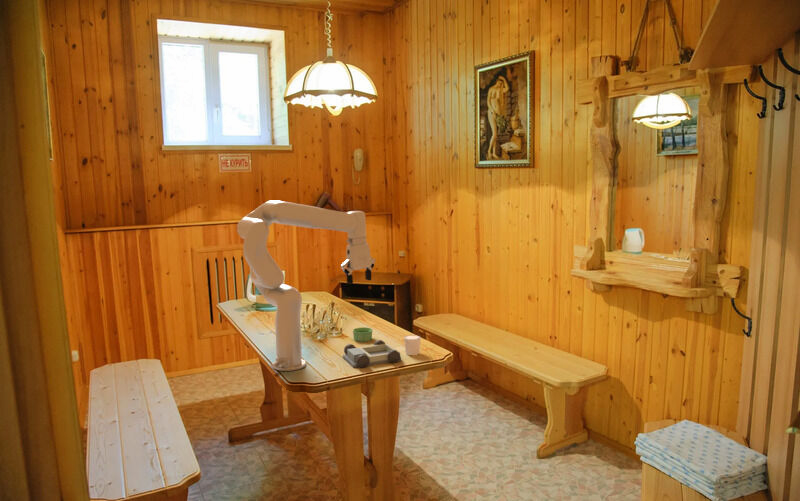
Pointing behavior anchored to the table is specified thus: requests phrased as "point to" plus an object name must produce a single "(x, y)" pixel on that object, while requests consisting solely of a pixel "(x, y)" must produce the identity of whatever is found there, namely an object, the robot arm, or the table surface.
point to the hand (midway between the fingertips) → (359, 281)
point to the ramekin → (362, 334)
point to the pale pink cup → (412, 344)
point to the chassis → (371, 354)
